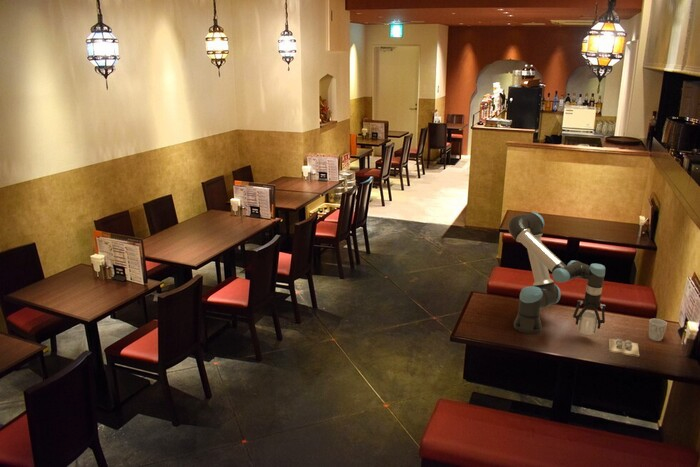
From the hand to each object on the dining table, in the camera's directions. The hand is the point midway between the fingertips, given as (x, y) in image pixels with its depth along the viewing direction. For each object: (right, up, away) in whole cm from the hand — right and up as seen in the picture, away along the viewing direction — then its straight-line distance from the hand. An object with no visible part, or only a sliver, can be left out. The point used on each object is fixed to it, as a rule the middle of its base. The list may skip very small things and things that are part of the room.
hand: (586, 331), depth 299 cm
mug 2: (+41, -5, +6) cm, 42 cm away
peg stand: (+17, -8, -6) cm, 19 cm away
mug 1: (0, -1, 0) cm, 1 cm away
